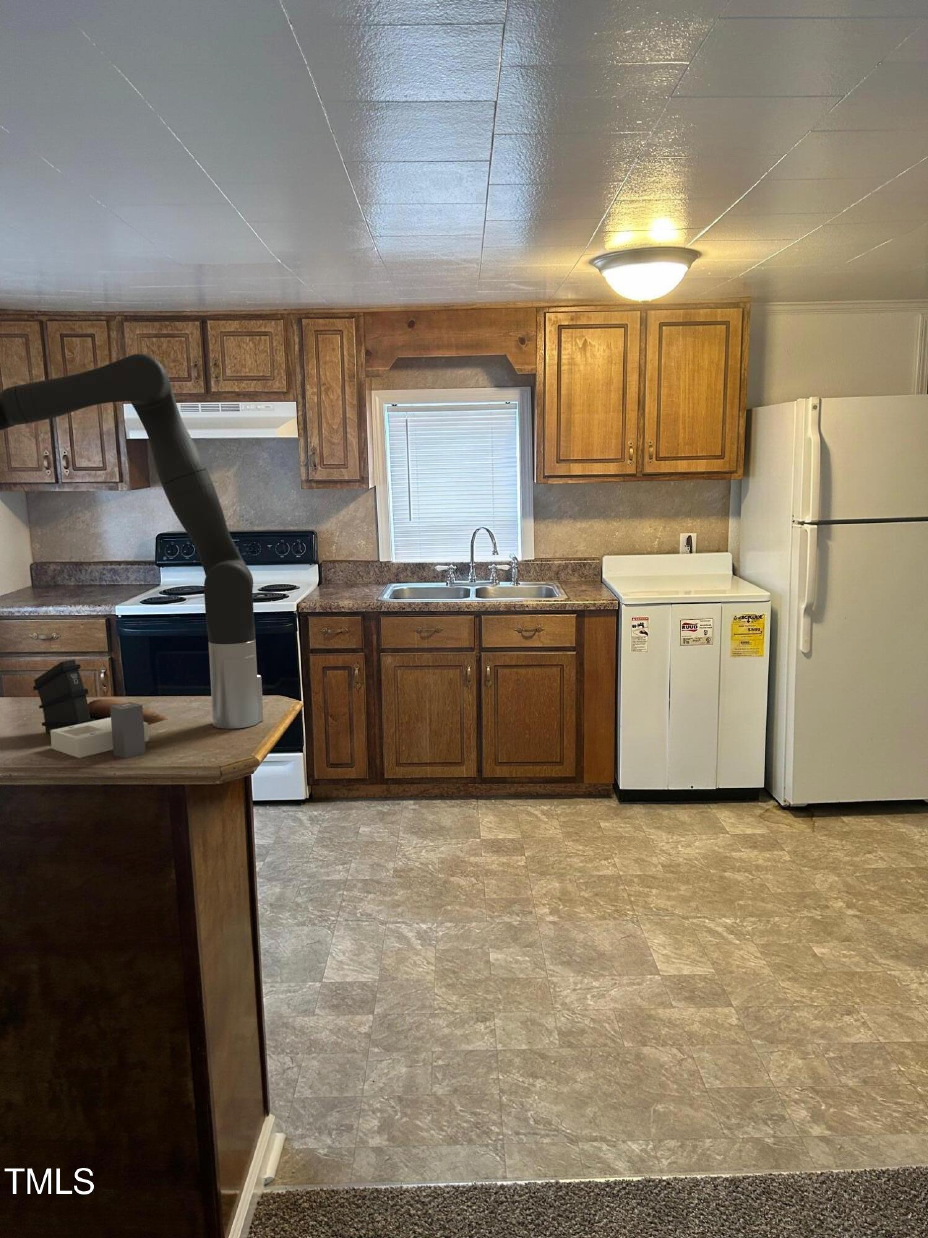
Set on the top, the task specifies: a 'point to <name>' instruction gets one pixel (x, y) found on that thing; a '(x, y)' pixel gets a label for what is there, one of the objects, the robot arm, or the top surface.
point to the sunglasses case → (103, 705)
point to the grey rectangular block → (127, 729)
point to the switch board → (86, 738)
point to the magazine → (62, 696)
